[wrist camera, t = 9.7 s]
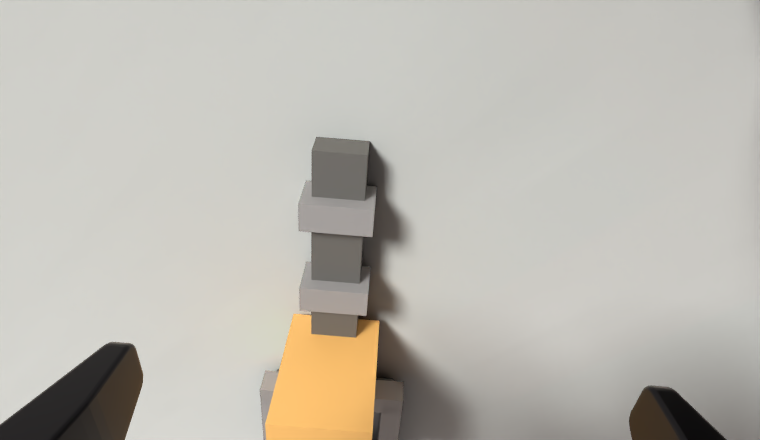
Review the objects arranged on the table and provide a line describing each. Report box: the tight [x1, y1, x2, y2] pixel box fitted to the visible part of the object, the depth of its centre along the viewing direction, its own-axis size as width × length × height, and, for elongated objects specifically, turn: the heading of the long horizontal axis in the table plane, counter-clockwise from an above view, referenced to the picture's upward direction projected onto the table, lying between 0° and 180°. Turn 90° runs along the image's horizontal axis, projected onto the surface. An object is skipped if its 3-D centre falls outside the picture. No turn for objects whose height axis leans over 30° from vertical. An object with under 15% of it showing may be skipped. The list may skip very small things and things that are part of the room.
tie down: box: [260, 137, 403, 440], centre depth 23 cm, size 20×7×6 cm, turn 176°
